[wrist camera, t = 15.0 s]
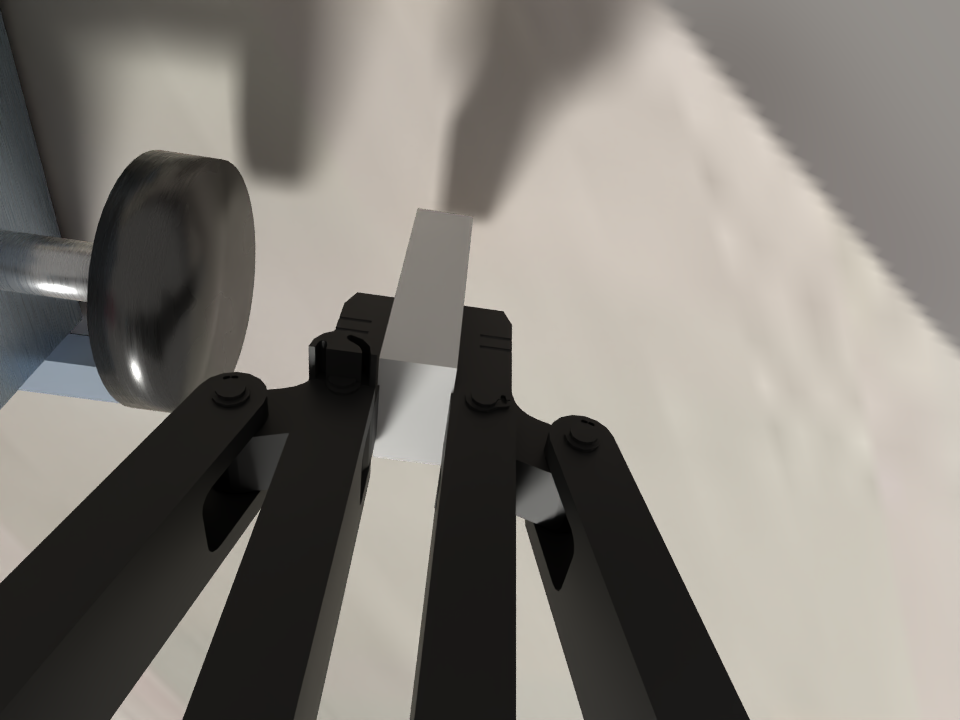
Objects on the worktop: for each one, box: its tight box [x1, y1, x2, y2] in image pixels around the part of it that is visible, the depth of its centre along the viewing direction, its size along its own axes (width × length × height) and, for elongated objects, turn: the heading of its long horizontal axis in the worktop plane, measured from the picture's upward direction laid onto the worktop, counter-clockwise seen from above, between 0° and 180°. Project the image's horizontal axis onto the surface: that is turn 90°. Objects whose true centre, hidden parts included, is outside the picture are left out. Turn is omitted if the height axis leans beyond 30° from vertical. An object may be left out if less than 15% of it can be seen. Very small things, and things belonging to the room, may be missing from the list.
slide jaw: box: [0, 11, 255, 413], centre depth 16 cm, size 9×10×9 cm
